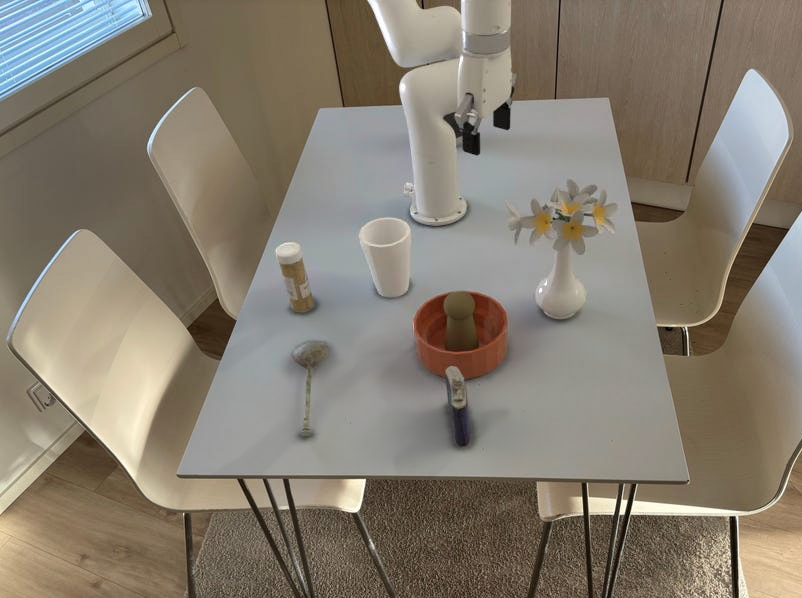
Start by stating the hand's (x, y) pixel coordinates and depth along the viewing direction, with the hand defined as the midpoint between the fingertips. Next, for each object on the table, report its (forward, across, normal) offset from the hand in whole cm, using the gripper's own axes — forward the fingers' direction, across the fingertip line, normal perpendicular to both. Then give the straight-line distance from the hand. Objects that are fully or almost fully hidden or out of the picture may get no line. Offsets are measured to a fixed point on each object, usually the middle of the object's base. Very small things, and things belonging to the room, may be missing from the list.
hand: (486, 140), depth 119 cm
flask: (+26, +38, +18) cm, 49 cm away
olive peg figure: (+26, +23, +9) cm, 36 cm away
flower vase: (+27, +6, +18) cm, 33 cm away
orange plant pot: (+27, +23, +9) cm, 36 cm away
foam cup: (+28, +15, -12) cm, 34 cm away
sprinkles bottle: (+28, +29, -24) cm, 47 cm away
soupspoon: (+27, +44, -8) cm, 52 cm away
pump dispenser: (+29, -38, -36) cm, 60 cm away
